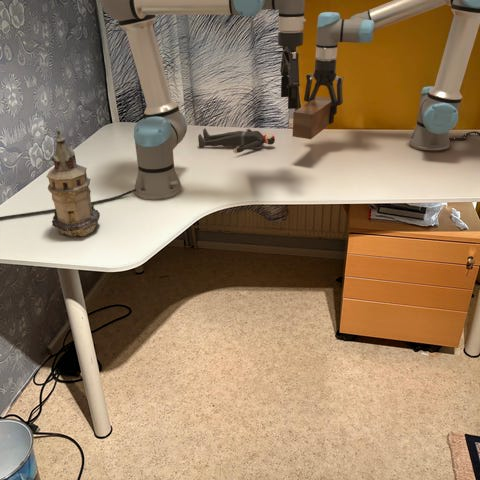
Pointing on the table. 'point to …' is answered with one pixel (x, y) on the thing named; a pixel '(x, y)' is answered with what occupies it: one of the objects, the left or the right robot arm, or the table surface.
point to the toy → (236, 139)
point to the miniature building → (70, 193)
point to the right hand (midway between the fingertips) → (321, 121)
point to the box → (312, 118)
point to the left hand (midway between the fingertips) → (288, 102)
